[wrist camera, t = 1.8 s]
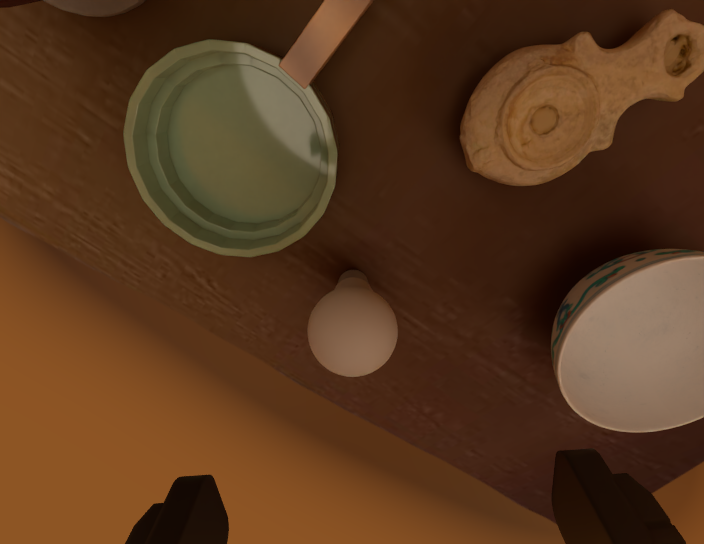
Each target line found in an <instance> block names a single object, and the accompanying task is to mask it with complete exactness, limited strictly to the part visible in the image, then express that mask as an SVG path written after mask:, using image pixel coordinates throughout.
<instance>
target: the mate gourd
mask: <svg viewBox="0 0 704 544" xmlns="http://www.w3.org/2000/svg"><path fill="white" fill-rule="evenodd" d="M37 1H41V0H0V8H3V7H13V6H18V5H23V4H27V3H32V2H37ZM43 1H44V2H47V3H49V4H51V5H53V6H55V7H57V8H59V9H62V10H64V11H68V12H72V13H76V14H80V15H84V16H91V17H109V16H114V15H119V14H124V13H126V12H128V11H130V10H132V9H134V8H136V7H138V6H140V5H141V4H142V3H144V2H145V1H146V0H43Z"/></svg>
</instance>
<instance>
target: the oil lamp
mask: <svg viewBox="0 0 704 544" xmlns="http://www.w3.org/2000/svg"><path fill="white" fill-rule="evenodd" d="M703 71H704V25H701V24H699V23H695V22H692V21H690V20H686V18H685V17H683V16H682V15H681V14H679V13H677V12H676V11H674V10H673V9H668V10H666V11H662V12H660V13H659V14H658V15H656V16H654V17H653V18H652V19H651V20H650V21H649V22H648V23H646V24H645V25H644V26H643V27H642V28H641V29H640V30H639V31H637V32H636V33H635V34H634V35H633V36H632V37H631V38H630V39H629V40H628V41H627V42H625V43H624V44H622V45H621V46H619V47H617V48H614V49H604V48H601V47H599V46H598V45H597V44H596V42H595V41H594V40H593V38H592V36H591V34H590V33H588V32H580V33H578V34H576V35H575V36H573V37H572V38H570V39H569V40H568V41H566V42H564V43H563V44H558V45H532V46H528V47H523V48H520V49H517V50H515V51H513V52H511V53H510V54H508V55H506V56H505V57H504V58H502V59H501V60H500V61H498V62H497V63H496V64H495V65H494V66H493V67H492V68H491V69H490V70H489V71H488V72H487V73H486V75H485V76H484V77H483V78H482V79H481V81H480V82H479V84H478V85H477V87H476V88H475V90H474V91H473V93H472V95H471V97H470V99H469V101H468V104H467V107H466V110H465V112H464V115H463V118H462V121H461V126H460V130H461V134H460V137H459V138H460V142H461V145H462V148H463V151H464V155H465V160H466V165H467V167H468V168H469V169H470V170H471V171H473V172H477V173H479V174H480V175H482V176H483V177H485V178H487V179H490V180H493V181H495V182H498V183H502V184H506V185H512V186H531V185H538V184H542V183H545V182H548V181H550V180H553V179H555V178H557V177H559V176H561V175H563V174H564V173H566V172H568V171H569V170H571V169H572V168H573V167H575V166H576V165H577V164H579V163H580V161H581V160H582V159H583V158H585V157H586V155H587V154H588V153H589V152H591V151H597V150H604V149H606V148H608V147H609V146H610V145H611V143H612V141H613V134H614V130H615V126H616V124H617V121H618V119H619V117H620V116H621V115H622V114H623V112H624V111H625V110H626V109H627V108H628V107H630V106H631V105H633V104H634V103H636V102H638V101H640V100H643V99H654V100H659V101H668V102H675V101H678V100H680V99H682V98H683V96H684V89H685V88H686V86H687V85H688V84H690V83H691V82H693V81H694V80H695V79H696V78H697V77H698V76H699V75H700V74H701V73H702V72H703Z"/></svg>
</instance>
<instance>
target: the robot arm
mask: <svg viewBox="0 0 704 544" xmlns="http://www.w3.org/2000/svg"><path fill="white" fill-rule="evenodd" d="M552 506H553V512H554V516H555V519H556V522H557V525H558V527H559V530H560V532H561V534H562V537H563V539H564V541H565V543H566V544H686V542H685V540H684V539H683V537H682V536H681V535H680V533H679V532H678V530H677V529H676V527H675V526H674V525H672V524H671V523H670V519H669V518H668V516H667V515H666V513H665V512H664V511H663V509H662V508H661V506H660V505H659V503H658V502H657V501H656V499H655V498H654V496H653V495H652V494H651V493H650V492H649V491H648V490H646V489H645V488H644V487H643V486H642V485H640V484H639V483H638V482H637V481H635V480H634V479H633V478H632V477H631V476H629V475H628V474H627V473H622V474H612V473H611V471H610V470H609V468H608V466H607V465H606V463H605V462H604V460H603V459H602V457H601V456H600V454H599V453H598V452H597V451H596V450H595V449H578V450H564V451H558V452H557V453H556V457H555V467H554V477H553V487H552ZM228 531H229V524H228V516H227V513H226V510H225V508H224V505H223V502H222V500H221V497H220V494H219V491H218V488H217V486H216V483H215V480H214V478H213V476H211V475H199V476H184V477H179V478H177V479H176V480H175V481H174V483H173V485H172V487H171V489H170V491H169V493H168V495H167V497H166V499H165V501H164V503H158V504H153V505H152V506H151V507H150V509H149V510H148V511H147V512H146V513H145V514H144V515H143V517H142V518H141V519H140V520H139V521H138V522H137V523H136V524H135V526H134V527H133V529H132V531H131V533H130V535H129V537H128V539H127V541H126V543H125V544H227V540H228Z"/></svg>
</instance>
